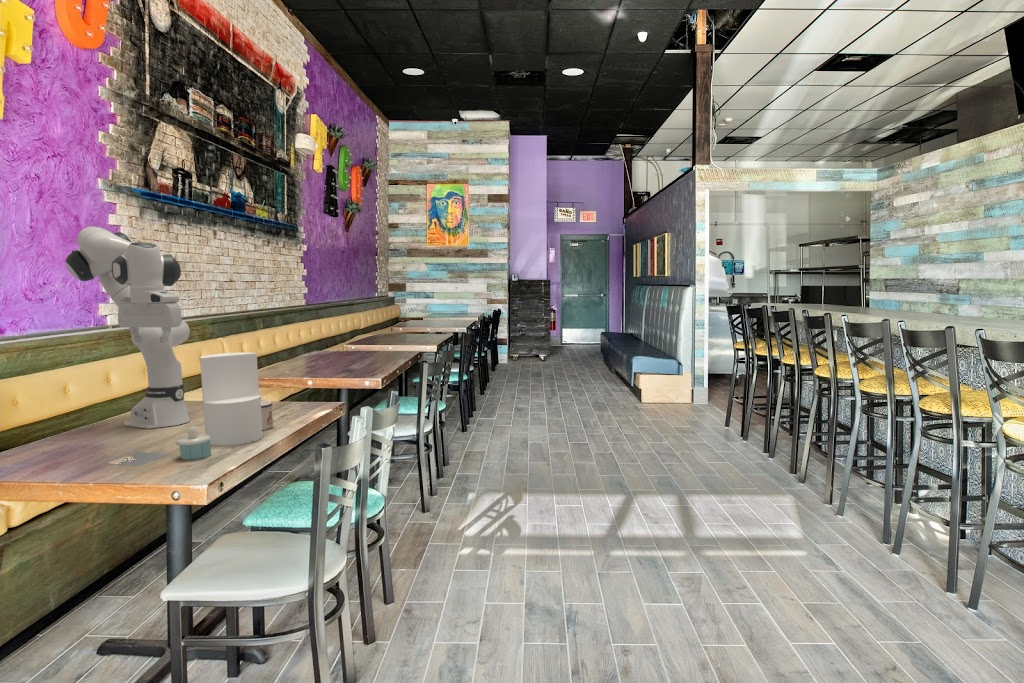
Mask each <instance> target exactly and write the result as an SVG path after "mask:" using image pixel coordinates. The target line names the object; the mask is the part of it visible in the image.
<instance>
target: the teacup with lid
mask: <svg viewBox="0 0 1024 683" xmlns="http://www.w3.org/2000/svg"><path fill="white" fill-rule="evenodd" d="M260 397H261V414H262V430H263V431H267V430H266V429H268V430H270V429H269V428H271V429H273V426H274V424H273V423H274V422H273V421H274V420H273V402H272V401H270V400H266V398H262V396H261V395H260Z"/></svg>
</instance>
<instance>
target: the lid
mask: <svg viewBox="0 0 1024 683" xmlns="http://www.w3.org/2000/svg"><path fill="white" fill-rule="evenodd" d="M198 429H199V428H198V426H196V425H195V426H194V425H193V426H188V427H187V434H186V435H183V436H180V437H177V438H176V439H175V444H176V445H178V446H180V445H195V444H201V443H204V442H207V441H209V440H210V435H207V434H205V433H199V431H198Z"/></svg>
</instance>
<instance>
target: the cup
mask: <svg viewBox="0 0 1024 683" xmlns="http://www.w3.org/2000/svg"><path fill="white" fill-rule="evenodd" d="M211 446H212V445H210V440H209V441H207V442H204V443H201V444H195V445H179V456H180V459H181V460H185V461H192V460H193V461H194V460H199V459H204V458H207V457H210V456H211V455H212V447H211Z"/></svg>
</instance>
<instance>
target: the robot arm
mask: <svg viewBox="0 0 1024 683" xmlns="http://www.w3.org/2000/svg"><path fill="white" fill-rule="evenodd" d="M76 241H77V242H76V243H77V244H78V247H79V248H78V249H75V250H71V252H70V253H69V254H68V255H67V256H66V259H65V261H64V262H65V264H66V268H67V270H68V272H69V273H70V275H72V276H73V277H74V278H76V279H77V280H79V281H82V282H88V281H91V280H94V279H95V278H97V277H98V279H99V282H100V283H101V285H102V287H103V289H104V291H105V292H106V293H107V295H108V296H109V298H110V299H111V300H112V301H113V302H114V304H115V305H116V306H117V307H118V308H117V324H118V326H119V327H120V328H129V332H130V334H131V336H130V337H131V341H132V343H133V344H134V347H137V348H138V349H139V350H140V353H141V355H142V357H143V359H144V362H145V366H146V372H147V384H148V386H147V387H146V388H143V389H142V393H145V395H144V397H143V398H142V399H141V400H140V401H139V402H137V404H135V405H133V407H132V408H131V410H130V419H129V420H126V421H124V422H123V426H126V427H133V428H141V429H156V428H165V427H172V426H173V427H174V426H178V425H181V424H182V425H183V424H186V423H188V422H190V421H191V419H190V416H189V414H188V409H187V406H186V400H185V393H186V392H185V384H184V383H183V372H182V371H183V370H182V363H181V361H179V360H178V359H177V356H176V355H175V352H174V349H173V348H174V347H178V346H180V345H181V344H183V343H184V342H186V341H187V340H188V338H189V337H190V333H191V332H190V331H191V330H190V327H189V325H188V323H187V322H186V321H184V320H183V317H182V316H183V315H182V311H181V310H182V309H181V306H180V304H179V302H180V296H179V295H178V294H176V293H173V292H170V291H168V290H166V289H165V287H172V286H173V285H175V284H176V283H177V282H178V281H179V279H180V277H181V273H182V269H181V264H180V263H179V261H178V260H177V259H176V258H175V257H174V256H172V255H171V254H163V255H162V254H161V251H160V248H159V246H158V245H157V244H155V243H150V242H144V241H143V242H138V241H136V242H134V241H133V240H132V238H131V237H129V235H126V233H123V232H120V231H117V232H111V231H109V230H107V229H105V228H103V227H99V226H87V227H85V228H83V229H82V230H80V231H79V233H78V234H77V240H76Z"/></svg>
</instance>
